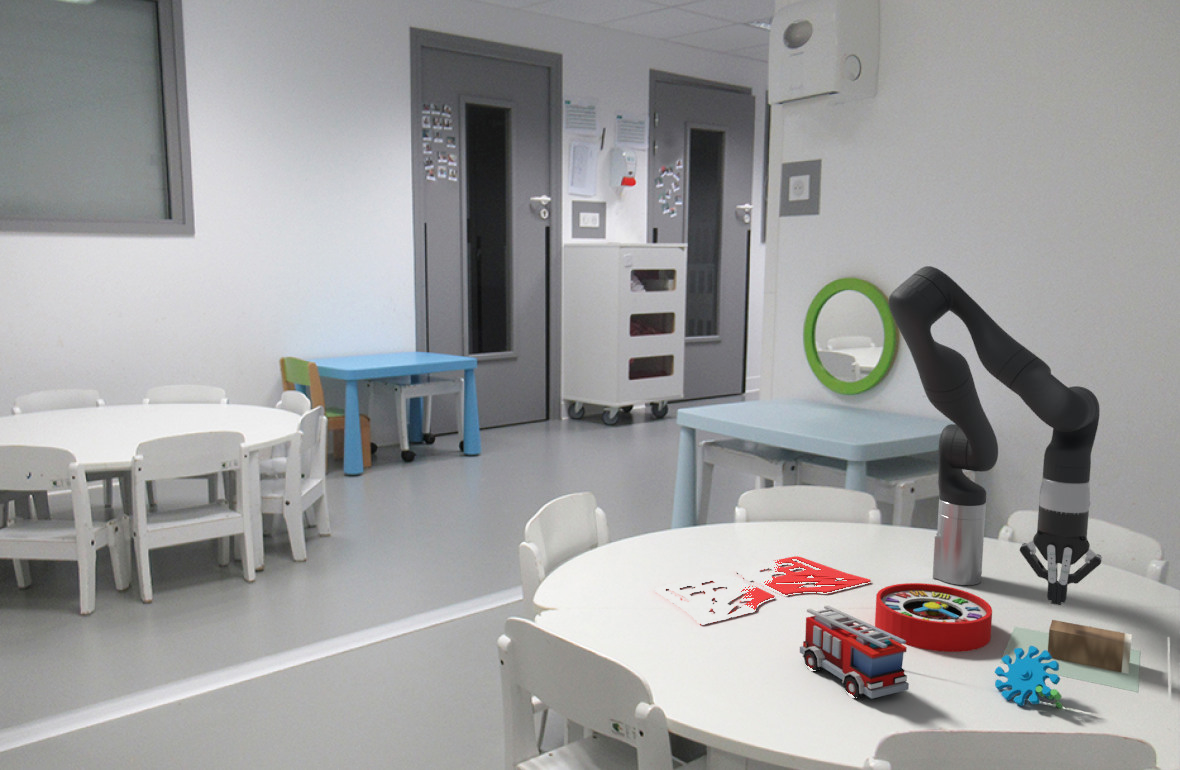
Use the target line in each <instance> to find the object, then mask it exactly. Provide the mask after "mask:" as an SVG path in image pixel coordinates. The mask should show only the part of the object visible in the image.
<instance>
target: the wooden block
mask: <svg viewBox="0 0 1180 770" xmlns="http://www.w3.org/2000/svg"><path fill="white" fill-rule="evenodd" d="M1048 630H1049V631H1048V633H1049V640H1048V652H1049V654H1050V655H1051V656H1052V658H1053V659H1058V660H1063V661H1068V662H1072V663H1077V664H1082V665H1087V666H1092V667H1097V668H1101V669H1106V670H1111V671H1116V672H1121V673H1126V674H1129V662H1130V651H1131V649H1132V637H1133V634H1130V633H1125V632H1121V631H1115V630H1109V629H1104V628H1098V627H1094V626H1090V625H1089V626H1088V625H1083V624H1077V623H1072V622H1067V621H1061V620H1056V619H1051V623H1050V626H1049V629H1048Z"/></svg>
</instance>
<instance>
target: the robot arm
mask: <svg viewBox="0 0 1180 770" xmlns="http://www.w3.org/2000/svg"><path fill="white" fill-rule="evenodd" d="M888 297H889V298H888V307H889V310H890V311H889V312H890V314H891V315H892V318H893V319H894V322H895V324H896V326H897V328H898V329H899V332H900V333H901V335H902V338H903V339H904V341H905V343H906V345H907V348H908V350H909V351H910V355H911V356H912V359H913V361H914V364H915V366H916V370H917V372H918V373H917V374H918V376H919V379H920V382H921V385H922V387H923V390H924V393H925V395H926V397H927V399H928V401H929V403H931V405H932V406H933V407H934V408H935V409H936V410H937V411H938V412H939V413H941V414H942V415H944V417H945V418H947V419H948V420H950V421H951V422H952V423H953V424H951V423H950V424H947V425H946V426H944V428H943V429H942V431H941V433H940V435H939V441H938V453H937V454H938V458H937V459H938V475H937V476H938V477H937V478H938V481H937V482H938V483H937V484H938V485H937V486H938V491H939V495H938V513H937V514H938V515H937V532H936V533H935V534H934V544H933V545H934V547H933V565H932V567H933V568H932V578H933V579H936V580H940V581H941V582H945V583H946V584H952V585H958V586H973V585H978V584H980V583H981V581H982V573H983V570H982V569H983V555H984V540H985V523H986V505H987V491H986V489H985V488H984V487H983V486H981V485H980V484H978V483H976V482H975V481H973V480H971V479H970V478H969V477H968V476H967V475H965V473H964V472H963V470H964V471H970V472H971V471H972V472H982V473H983V472H988V471H991V470H992V469H993V468H994V467H996V466H995V465H996V464H997V462H998V457H999V445H998V439H997V436H996V434H995V431H994V429H993V427H992V425H991V422H990V421H989V418H988V417H987V415H986V412H985V411H984V409H983V406H982V404H981V403H982V402H981V401H980V397H979V395H978V392H977V388H976V385H975V381H974V377H973V375H972V371H971V368H970V365H969V362H968V361H967V359H966V357H964V356H963V354H961V353H960V352H959V351H957V350H955V349H954V348H952V347H948V346H946V345H944V344H941V343H939V342H938V341H936V340H934V339H935V338H933V335H932V331H931V328H932V325H934V324H935V323H936V322H937V321H938V320H940V319H941V318H942V317H943V316H945V315H946V314H947V313H948V312H949V311H950V312H951V313H953V314H954V315H955V316H957V317H958V318H959V319H960V320H961V321H962V322H963V324H964V325H965V326H966V329H967V331H968V333H969V334H970V338H971V340H972V342H973V345H974V348H975V351H976V354H977V357H978V359H979V361H980V363H981V364H982V366H983V367H984V368H985V370H987V372H988V373H989V374H991V376H992V377H994V378H995V379H996V380H998V381H999V382H1000V383H1001V384H1002V385H1004V386H1005V387H1006V388H1007V389H1009V390H1010V391H1011V392H1013V393H1015V394H1017V396H1018V397H1020V399H1022V401H1023V403H1024V404H1025V405H1027V407H1028V408H1029V409H1030V410H1031V411H1032V412H1033V413H1034V414H1035V415H1036V416H1037V418H1039V419H1040V420H1041V421H1042V422H1043V423H1044V424H1046V425H1047V426H1049V427H1050V428H1052V429H1053V430H1052V434H1051V435H1052V436H1051V440H1050V442H1049V443H1048V445H1047V446H1046V448H1045V451H1044V456H1043V468H1042V479H1041V484H1040V489H1039V501H1038V512H1037V514H1038V515H1037V529H1036V533H1035V534H1034V536H1033V538H1032V540H1031V541H1029V542H1027V543H1025V542H1024V543H1022V544H1021V546H1020V547H1019V552H1020V554H1021V555H1022V556H1023V557H1024V559H1025V560H1026V562H1027V564H1029V566H1030V568H1031V569H1032V571H1034V573H1035V575H1036V576H1037V577H1038V578H1041V579H1044V580H1046V581H1047V594H1046V597H1047V600H1048V601H1050V602H1051V603H1050V604H1051V605H1056V606H1061V605H1062V603H1064V604H1065V602H1066V600H1067V596H1068V585H1071V584H1074V585H1075V584H1076V585H1077V584H1079V583H1080V582H1081V581H1082V580H1083V579H1085V578H1086V577H1087V576H1088V575H1089V574H1090V573H1092V572H1093V571H1094V570H1095V569H1096V568H1098V567H1099V566H1100V565H1101V564H1102V560H1103V557H1102V555H1101V554H1098V553H1096V552H1095V551H1093V550H1092V549H1091V547H1090V546H1091V545H1090V542H1089V540H1088V528H1089V526H1088V525H1089V524H1088V523H1089V514H1090V506H1091V500H1090V499H1091V489H1090V477H1091V469H1092V468H1091V466H1092V458H1091V457H1092V452H1093V451H1092V450H1093V447H1094V444H1095V439H1096V436H1097V432H1098V426H1099V420H1100V411H1101V410H1100V403H1099V400H1098V398H1097V397H1096V395H1095V394H1094V392H1092V391H1091V390H1090V389H1089V388H1086V387H1083V386H1070V387H1068V386H1066V385H1065V384H1064V383H1063V382H1062V381H1060V380H1059V379H1058V378H1057V377H1056V376H1055V375H1053V374H1052V370H1051V368H1050V366H1049V365H1048V364H1047V363H1046V362H1045V361H1044V360H1042V358H1040V357H1039V356H1037V355H1036V354H1035V353H1034V352H1032V351H1031V350H1029V349H1028V348H1027V347H1025V346H1024V345H1023V344H1021V343H1020V342H1018V341H1017V340H1015V338H1014V337H1012V336H1011V335H1010V334H1009V333H1007V332H1006V330H1004V329H1003V328H1002V327H1001V326H1000V325H999V324H998V323H997V322H996V321H995V320H994V319H993V318H992V317H991V315H989V314H988V313H987V312H986V311H985V310H984V308H982V307H981V305H979V303H978V302H977V301H975V300H974V299H973V298H972V296H970V295H969V294H968V293H967V292H966V291H965V290H964V289H963V288H962V287H961V286H960V285H959V284H958V283H957V282H956V281H954V279H952V277H950V276H949V275H948V274H947V273H945V272H944V271H942V269H941V270H940V269H939V268H937V267H935V266H931V265H929V266H927V265H926V266H923V267H921V268H920V269H918V270H917V271H915V272H914V273H913V274H912V275H910V276H909V277H908V278H907V279H906V280H904V281H903V282H902V283H901V284H899V286H898V287H896V288H895V289H894V290H893V291H892V292H891V293H890V295H889V296H888ZM1037 550H1038V552H1039V553H1040V554H1041V556H1042V558H1043V559H1044V560H1045V561H1047V569H1046V567H1045V566H1044V564H1043V563H1042V561H1040V559H1039V558H1038V556H1037V554H1036V553H1037ZM1084 555H1085V558H1084V562H1085V563H1084V564H1082V566H1080V568H1078V569H1077V570H1076V571H1074V572H1073V573H1070V572H1071V567H1072V565H1075V564H1076V563H1077V562H1078V561H1079V560H1081V558H1082V557H1083V556H1084ZM1059 564H1060V565H1061V567H1060V574H1059V575H1058V572H1059V571H1058V568H1059V567H1058V565H1059ZM1058 576H1059V580H1058Z"/></svg>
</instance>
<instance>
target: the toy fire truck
mask: <svg viewBox="0 0 1180 770" xmlns="http://www.w3.org/2000/svg"><path fill="white" fill-rule="evenodd" d="M806 613H809V614H810V615H812V616H807V617H805V640H803V641H802V645H801V646H799V653H800V654H801V655H802V658H803V659H804V665H805V664H806V665H807V666H809V667H810V668H812V669H813V670H819V669H820V670H821V669H822V668H823V669H824V670H826V671H828V672H830V674H833V675H834V676H835V677H837V678H839V679H840V680H842V681H841V683H842V684H843V686H844V690H846V691H847V692H848V693H850V694H852V695H853V696H854V697H855V698H856V697H860V698H861V697H862V696H863V695H865V696H866V697H868V698H869V699H875V698H880V697H884V696H888V695H892V694H896V693H901V692H904V691H908V690H909V686H910V685H909V684H910V683H909V682H907V679H908V675H907V674H905V669H904V668H903V661H904V655H905V653H907V649H908V648H907V646H906V645H905V644H904V643H906V641H905V640H903V639H901V638H899V637H897V636H894V635H892V634H890V633H888V632H886V631H883V630H881V629H879V628H877V627H875V625H872V624H870V623H867V622H865V621H864V620H861V619H859V618H857V617H854V616H852V615H849V614H848V613H846V612H843V611H841V610H839V609H837V608H834V607H832V606H830V605H824V607H823V609H822V610H814V609H812V608H808V609H806ZM863 627H864V628H863ZM898 642H899V643H898ZM900 643H901V644H900ZM806 665H805V666H806ZM820 670H819V671H820ZM846 691H845V692H846Z"/></svg>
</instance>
